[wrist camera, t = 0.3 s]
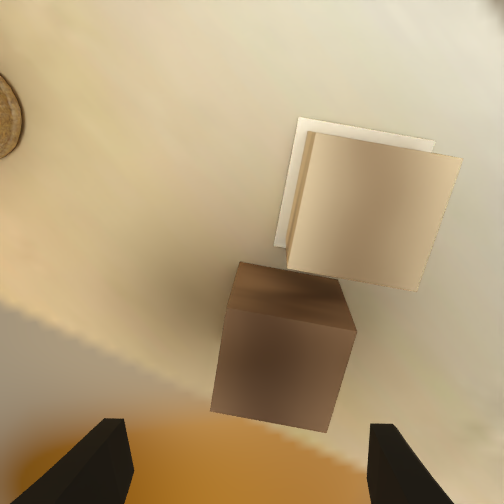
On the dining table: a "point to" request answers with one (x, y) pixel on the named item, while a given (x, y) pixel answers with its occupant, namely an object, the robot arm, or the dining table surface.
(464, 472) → the dining table surface
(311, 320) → the walnut block
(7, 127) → the sprinkles bottle
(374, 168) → the maple base
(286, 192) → the cream tile
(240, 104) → the dining table surface
